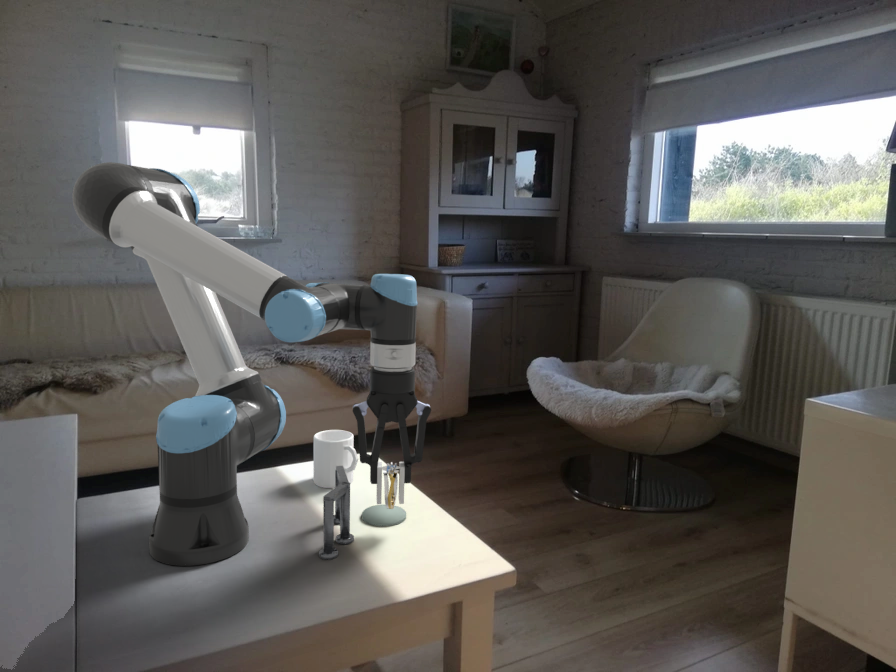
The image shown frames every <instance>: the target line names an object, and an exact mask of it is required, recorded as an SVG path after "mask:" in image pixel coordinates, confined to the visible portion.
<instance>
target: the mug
mask: <svg viewBox="0 0 896 672" xmlns="http://www.w3.org/2000/svg"><path fill="white" fill-rule="evenodd" d="M354 438H355V437H354V434H353V433H352V432H350V431H347V430H342V429H329V430H328V429H327V430H323V431H319V432H316V433H315V434H314V435H313V484H314V485H316V486H317V487H320V488H324V489H334V488H335V470H336V466H343V467H344V470H345V473H346V476H347V479H348V482H349V483H350V485H351V484H352V483H353V482H354V471H355V470H356V467H357V464H358V462H359V461H358V460H359V457H358V453H357V451H356V449H355V448H354V447H355V446H354V444H355V443H354V441H355V440H354Z"/></svg>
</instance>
